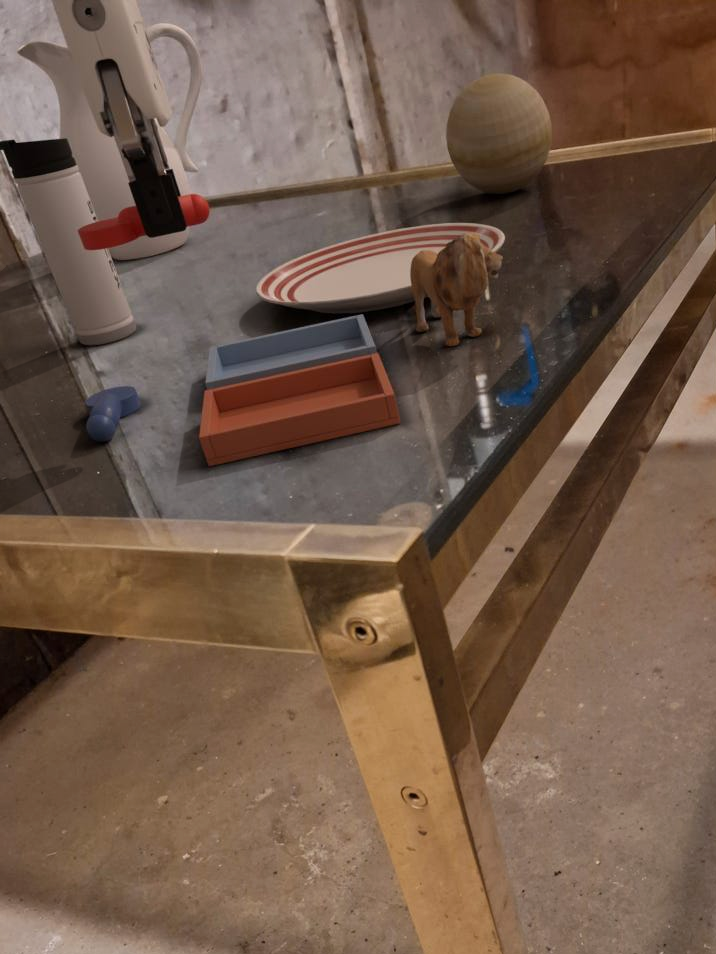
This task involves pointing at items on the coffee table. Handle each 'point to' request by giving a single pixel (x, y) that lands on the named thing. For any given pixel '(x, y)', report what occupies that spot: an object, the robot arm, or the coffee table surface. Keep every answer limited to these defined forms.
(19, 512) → the coffee table surface
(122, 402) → the blue spoon
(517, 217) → the coffee table surface
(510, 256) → the coffee table surface
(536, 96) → the decorative ball
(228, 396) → the red tray
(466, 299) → the lion figurine
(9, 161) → the travel mug
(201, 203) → the red spoon
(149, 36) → the pitcher
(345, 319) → the blue tray
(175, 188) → the robot arm
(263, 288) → the dinner plate
